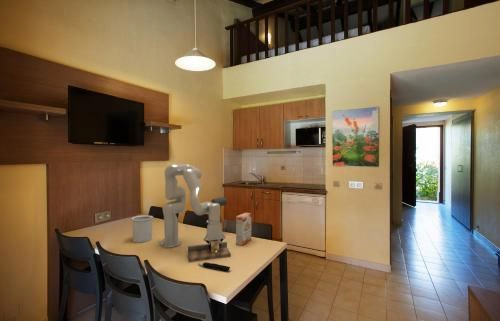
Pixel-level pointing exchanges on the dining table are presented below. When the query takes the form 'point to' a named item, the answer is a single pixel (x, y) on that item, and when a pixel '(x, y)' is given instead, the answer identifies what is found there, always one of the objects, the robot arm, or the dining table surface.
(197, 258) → the board
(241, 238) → the cracker box
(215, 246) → the gauge
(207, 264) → the utility knife
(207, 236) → the robot arm
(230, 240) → the dining table surface
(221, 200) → the rubber mallet
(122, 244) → the dining table surface
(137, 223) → the utensil holder
